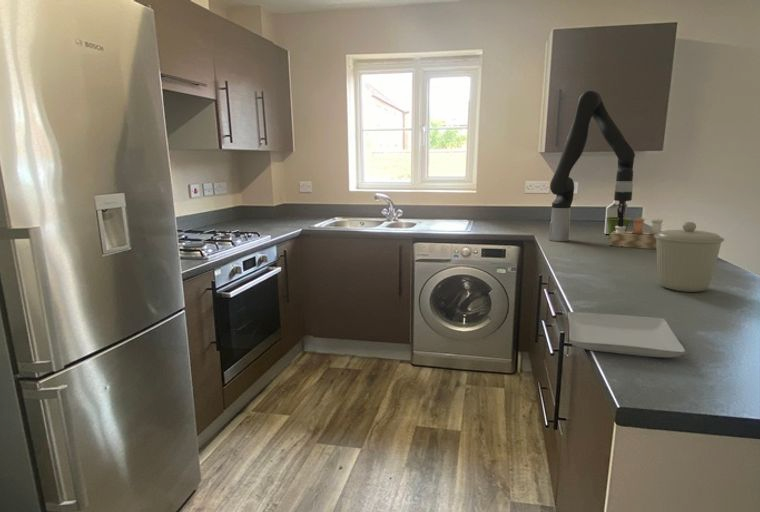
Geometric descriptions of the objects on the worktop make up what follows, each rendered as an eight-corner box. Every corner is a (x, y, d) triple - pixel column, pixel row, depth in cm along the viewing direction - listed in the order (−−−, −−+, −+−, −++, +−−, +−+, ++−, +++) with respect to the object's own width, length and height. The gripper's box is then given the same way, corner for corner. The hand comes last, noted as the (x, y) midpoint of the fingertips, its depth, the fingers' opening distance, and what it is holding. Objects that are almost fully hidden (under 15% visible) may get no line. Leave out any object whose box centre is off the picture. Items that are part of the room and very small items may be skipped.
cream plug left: (613, 243, 225) (614, 226, 223) (614, 241, 228) (616, 225, 227) (623, 243, 222) (625, 227, 221) (625, 242, 226) (626, 226, 224)
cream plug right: (649, 237, 216) (650, 219, 214) (650, 235, 219) (651, 218, 218) (660, 237, 213) (662, 220, 211) (661, 236, 217) (663, 219, 215)
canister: (720, 299, 133) (729, 226, 129) (648, 291, 142) (654, 223, 138) (715, 285, 148) (723, 220, 144) (650, 279, 157) (656, 217, 153)
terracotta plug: (631, 236, 220) (632, 219, 218) (632, 234, 223) (633, 218, 222) (642, 236, 217) (643, 219, 216) (643, 235, 221) (644, 218, 219)
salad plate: (568, 354, 97) (569, 338, 96) (566, 322, 116) (567, 309, 115) (686, 367, 89) (687, 351, 89) (662, 331, 109) (664, 317, 108)
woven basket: (609, 245, 223) (610, 233, 222) (612, 242, 231) (613, 231, 230) (662, 249, 211) (663, 236, 210) (663, 246, 219) (664, 233, 218)
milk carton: (605, 235, 257) (607, 201, 254) (604, 233, 264) (606, 200, 260) (619, 235, 255) (622, 201, 251) (618, 233, 261) (620, 200, 258)
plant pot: (603, 240, 239) (605, 218, 237) (604, 237, 250) (606, 216, 248) (629, 241, 234) (631, 219, 232) (629, 238, 244) (631, 217, 242)
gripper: (616, 190, 228) (614, 224, 231) (612, 191, 217) (609, 227, 220) (634, 190, 224) (631, 225, 227) (630, 191, 213) (627, 228, 216)
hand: (620, 226), depth 224 cm, fingers closed
